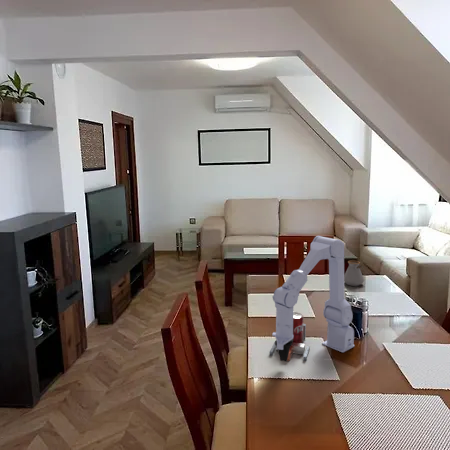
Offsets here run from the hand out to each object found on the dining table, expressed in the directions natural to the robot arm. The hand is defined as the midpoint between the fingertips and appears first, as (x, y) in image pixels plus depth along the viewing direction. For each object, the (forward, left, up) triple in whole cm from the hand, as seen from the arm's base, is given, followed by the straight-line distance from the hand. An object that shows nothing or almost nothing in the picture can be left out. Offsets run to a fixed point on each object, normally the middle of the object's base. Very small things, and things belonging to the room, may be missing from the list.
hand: (283, 360), depth 141 cm
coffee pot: (+32, -95, -3) cm, 101 cm away
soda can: (+9, -16, -3) cm, 19 cm away
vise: (+8, -14, -3) cm, 17 cm away
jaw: (+5, -8, -3) cm, 10 cm away
